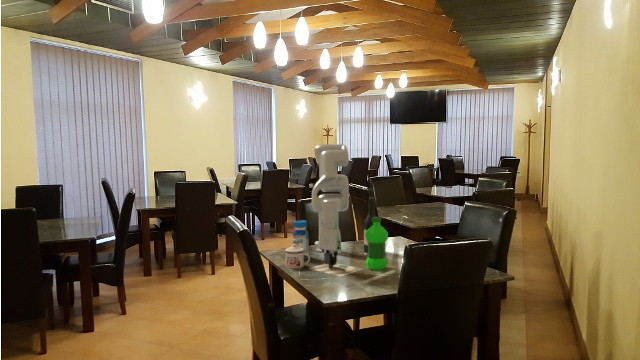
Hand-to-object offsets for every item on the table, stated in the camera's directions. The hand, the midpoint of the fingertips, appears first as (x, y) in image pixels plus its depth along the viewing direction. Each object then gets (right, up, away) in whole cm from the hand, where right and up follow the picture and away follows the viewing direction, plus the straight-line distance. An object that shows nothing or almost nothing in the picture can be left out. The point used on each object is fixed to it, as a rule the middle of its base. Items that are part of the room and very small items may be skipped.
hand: (330, 263), depth 216 cm
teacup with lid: (-16, -3, +4) cm, 16 cm away
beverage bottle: (-15, -2, +21) cm, 26 cm away
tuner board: (+2, -3, -2) cm, 4 cm away
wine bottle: (+23, 0, +37) cm, 44 cm away
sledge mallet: (+3, -2, -2) cm, 4 cm away
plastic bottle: (+21, -3, -1) cm, 22 cm away
